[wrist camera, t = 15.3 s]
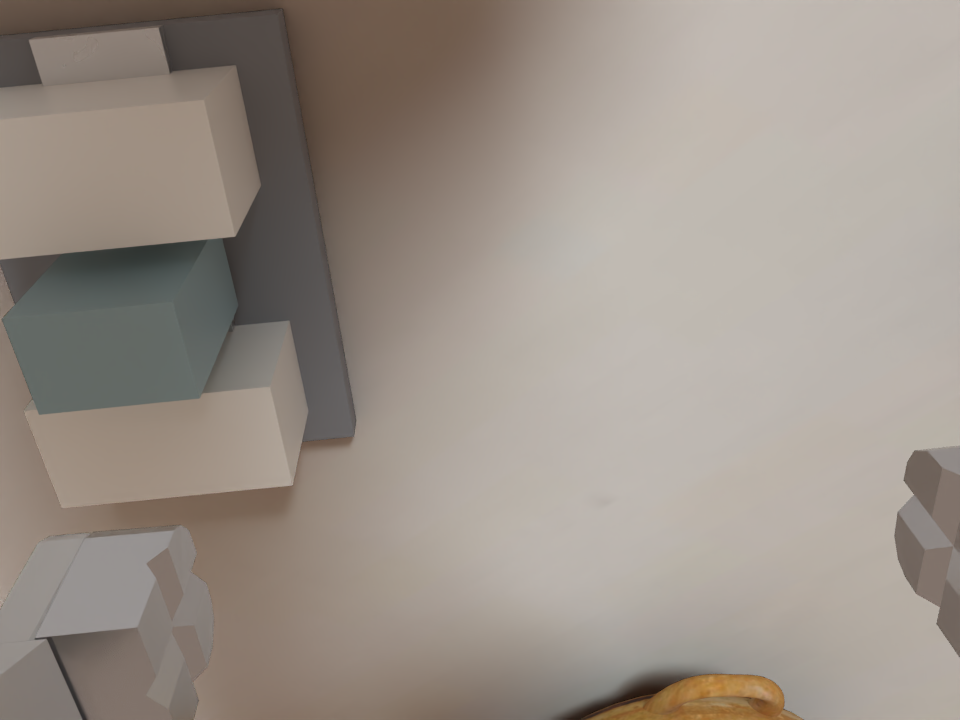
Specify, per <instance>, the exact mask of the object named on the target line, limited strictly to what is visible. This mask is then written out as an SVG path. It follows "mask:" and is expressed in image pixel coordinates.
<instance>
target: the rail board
mask: <svg viewBox="0 0 960 720" xmlns="http://www.w3.org/2000/svg"><path fill="white" fill-rule="evenodd" d="M217 238H222V239H223V243H224V248H225V252H226V256H227V260H228V264H229V268H230V272H231V277H232V281H233V285H234V289H235V293H236V297H237V301H238V308H237V310H236V313H235V315H234V317H233V320H232V322H231V325H230V327H229V329H228V332H227V334H226V337H225V339H224V342H223V344H222V346H221V349H220V351H219V354H218V356H217V358H216V361H215V363H214V366H213V368H212V370H211V373H210V375H209V378H208V380H207V382H206V385H205V387H204V390H203V392H202V394H201V397H200V398H199V399H190V400H180V401H170V402H160V403H150V404H141V405H131V406H121V407H111V408H101V409H91V410H82V411H72V412H62V413H52V414H42V415H39V413H38V411H37V408H36V406H35V403H34V401H33V399H32V400H31V401H30V403H29V404H28V406H27V407H26V408H25V410H24V411H23V412H24V414H25V417H26V419H27V422H28V424H29V427H30V429H31V432H32V434H33V437H34V439H35V442H36V445H37V447H38V450H39V452H40V455H41V457H42V460H43V462H44V465H45V467H46V470H47V472H48V475H49V477H50V480H51V482H52V485H53V488H54V490H55V493H56V495H57V498H58V500H59V503H60V505H61V508H62V509H63V508H73V507H83V506H93V505H103V504H113V503H123V502H133V501H143V500H153V499H163V498H173V497H183V496H193V495H203V494H213V493H223V492H233V491H243V490H253V489H263V488H273V487H283V486H293V482H294V477H295V473H296V468H297V463H298V458H299V453H300V449H301V444H302V442H304V441H314V440H324V439H334V438H344V437H354V435H355V426H356V416H355V410H354V405H353V399H352V394H351V388H350V383H349V377H348V371H347V366H346V360H345V355H344V349H343V344H342V338H341V332H340V327H339V321H338V316H337V310H336V304H335V299H334V293H333V288H332V282H331V277H330V271H329V265H328V260H327V254H326V249H325V243H324V237H323V232H322V226H321V221H320V215H319V210H318V204H317V198H316V193H315V187H314V182H313V176H312V171H311V165H310V159H309V154H308V148H307V143H306V137H305V131H304V126H303V120H302V115H301V109H300V104H299V98H298V92H297V87H296V81H295V76H294V70H293V64H292V59H291V53H290V48H289V42H288V37H287V31H286V25H285V20H284V14H283V9H273V10H263V11H252V12H242V13H232V14H221V15H211V16H200V17H190V18H179V19H169V20H158V21H148V22H137V23H127V24H116V25H106V26H96V27H85V28H75V29H64V30H54V31H43V32H33V33H22V34H12V35H1V36H0V265H1V268H2V271H3V273H4V276H5V279H6V281H7V284H8V287H9V289H10V292H11V295H12V297H13V300H14V303H15V304H16V303H17V302H18V301H19V300H20V299H21V298H22V297H23V295H24V294H25V293H26V292H27V291H28V290H29V289H30V288H31V287H32V286H33V285H34V284H35V282H36V281H37V280H38V279H39V278H40V277H41V276H42V275H43V274H44V273H45V272H46V271H47V269H48V268H49V267H50V266H51V265H52V264H53V263H54V262H55V261H56V260H57V259H58V257H59V256H60V255H61V254H63V253H73V252H84V251H94V250H104V249H114V248H125V247H135V246H145V245H155V244H165V243H176V242H186V241H196V240H206V239H217Z"/></svg>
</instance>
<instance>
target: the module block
mask: <svg viewBox="0 0 960 720" xmlns="http://www.w3.org/2000/svg"><path fill="white" fill-rule="evenodd" d="M237 308H238V301H237V297H236V293H235V289H234V285H233V281H232V277H231V272H230V268H229V264H228V260H227V256H226V252H225V248H224V243H223V239H222V238H217V239H206V240H196V241H186V242H176V243H165V244H155V245H145V246H135V247H125V248H114V249H104V250H94V251H84V252H73V253H63V254H61V255H60V256H59V257H58V259H57V260H56V261H55V262H54V263H53V264H52V265H51V266H50V267H49V268H48V269H47V271H46V272H45V273H44V274H43V275H42V276H41V277H40V278H39V279H38V280H37V281H36V282H35V284H34V285H33V286H32V287H31V288H30V289H29V290H28V291H27V292H26V293H25V294H24V295H23V297H22V298H21V299H20V300H19V301H18V302H17V303H16V304H15V305H14V306H13V307H12V309H11V310H10V311H9V312H8V313H7V314H6V315H5V316H4V317H3V318H2V321H3V324H4V326H5V329H6V331H7V334H8V337H9V339H10V342H11V344H12V347H13V349H14V352H15V354H16V357H17V360H18V362H19V365H20V367H21V370H22V372H23V375H24V378H25V380H26V383H27V385H28V388H29V390H30V393H31V396H32V398H33V401H34V403H35V406H36V408H37V411H38V413H39V415H42V414H52V413H62V412H72V411H82V410H91V409H101V408H111V407H121V406H131V405H141V404H150V403H160V402H170V401H180V400H190V399H199V398H200V397H201V394H202V392H203V390H204V387H205V385H206V382H207V380H208V378H209V375H210V373H211V370H212V368H213V366H214V363H215V361H216V358H217V356H218V354H219V351H220V349H221V346H222V344H223V342H224V339H225V337H226V334H227V332H228V329H229V327H230V325H231V322H232V320H233V317H234V315H235V313H236V310H237Z"/></svg>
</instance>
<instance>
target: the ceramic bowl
mask: <svg viewBox="0 0 960 720" xmlns="http://www.w3.org/2000/svg"><path fill="white" fill-rule="evenodd" d="M783 708H784V695H783V693H782V690H781V689H780V688H779V686H778V685H777V684H775V683H774V682H773V681H771V680H769V679H767V678H765V677H761V676H755V675H731V674H706V675H699V676H694V677H690V678H686V679H683V680H680V681H678V682H675V683H673V684H671V685H669V686H667V687H666V688H664V689H663V690H661V691H660V692H658V693H657V694H652V695H646V696H641V697H637V698H634V699H630V700H627V701H623V702H620V703H616V704H613V705H611V706H608V707H606V708H604V709H601V710H599V711H596V712H594V713H592V714H589V715H587V716H585V717H584V718H582V719H580V720H803V719H802V718H800V717H799V716H797V715H795V714H794V713H792V712H790V711H787V710H785V709H783Z"/></svg>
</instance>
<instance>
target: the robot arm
mask: <svg viewBox="0 0 960 720" xmlns="http://www.w3.org/2000/svg"><path fill="white" fill-rule="evenodd" d="M904 482H905V483H906V484H907V486H908V487H909V488H910V490H911V491H912V492H913V494H914V495H913V496H912V497H911V499H910V500H909V501H908V502H907V503H906V504H905V505H904V506H903V507H902V508H901V509H900V510H899V511H898V513H897V520H896V528H895V535H894V537H895V543H896V550H897V556H898V561H899V563H900V566H901V568H902V570H903V573H904V575H905V577H906V579H907V581H908V582H909V584H910V585H911V587H912V588H913V590H914V591H915V593H916V594H917V595H919V596H921V597H923V598H925V599H926V600H928V601H930V602H932V603H933V604H935V605H937V606H939V607H940V609H939V614H938V618H937V623H936V624H937V625H938V627H939V628H940V630H941V631H942V633H943V634H944V636H945V637H946V639H947V640H948V641H949V643H950V644H951V646H952V647H953V649H954V650H955V652H956V653H957V655H958V656H959V657H960V446H952V447H943V448H933V449H924V450H915V451H914V452H913V454H912V455H911V457H910V458H909V460H908V462H907V466H906V470H905V475H904ZM196 554H197V552H196V549H195V546H194V543H193V540H192V538H191V535H190V532H189V530H188V529H186V528H185V527H183V526H182V525H173V526H160V527H148V528H135V529H123V530H110V531H98V532H93V533H79V534H68V535H57V536H49V537H47V538H45V539H44V540H42V541H40V542H39V543H38V544H37V545H36V547H35V549H34V551H33V552H32V554H31V556H30V558H29V559H28V561H27V563H26V565H25V566H24V568H23V570H22V572H21V573H20V575H19V577H18V578H17V580H16V582H15V584H14V585H13V587H12V589H11V591H10V592H9V594H8V596H7V598H6V599H5V601H4V603H3V605H2V606H1V608H0V720H194V716H195V712H196V709H197V705H198V701H199V700H198V697H197V694H196V691H195V688H194V685H193V681H194V680H195V679H196V678H197V677H198V676H199V675H200V674H201V673H202V672H203V671H204V670H205V669H206V668H207V667H208V663H209V659H210V655H211V651H212V647H213V631H214V616H213V609H212V601H211V597H210V594H209V590H208V587H207V584H206V582H204V581H203V580H202V579H200V578H199V577H198V576H196V575H195V574H194V573H192V572H191V570H192V567H193V564H194V561H195V557H196Z"/></svg>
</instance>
